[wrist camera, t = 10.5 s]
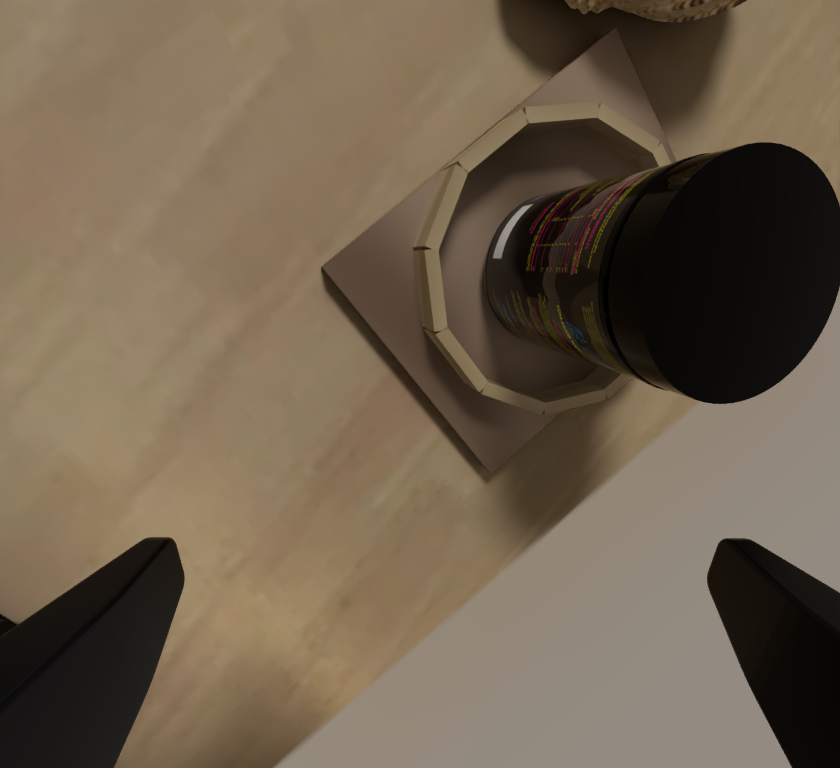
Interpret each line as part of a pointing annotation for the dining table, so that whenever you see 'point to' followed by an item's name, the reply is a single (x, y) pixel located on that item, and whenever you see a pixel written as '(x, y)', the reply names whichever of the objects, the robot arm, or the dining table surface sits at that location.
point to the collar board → (468, 243)
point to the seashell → (659, 8)
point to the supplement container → (677, 270)
